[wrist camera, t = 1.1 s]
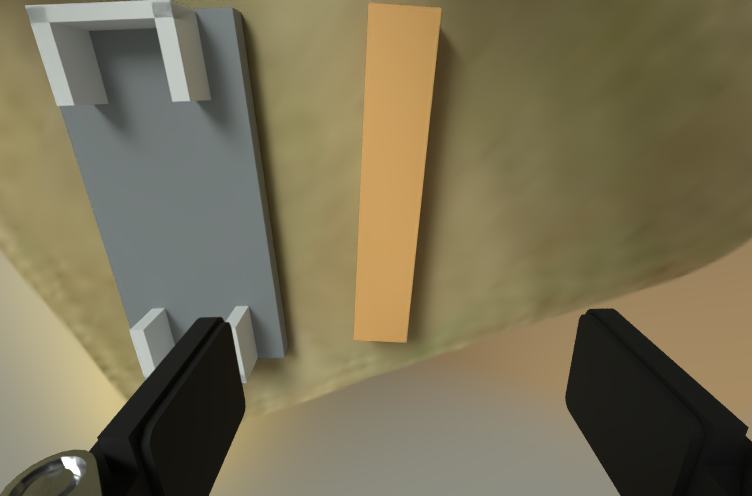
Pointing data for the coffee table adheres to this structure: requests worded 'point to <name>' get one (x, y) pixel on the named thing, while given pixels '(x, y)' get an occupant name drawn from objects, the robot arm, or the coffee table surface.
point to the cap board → (170, 166)
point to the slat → (393, 164)
